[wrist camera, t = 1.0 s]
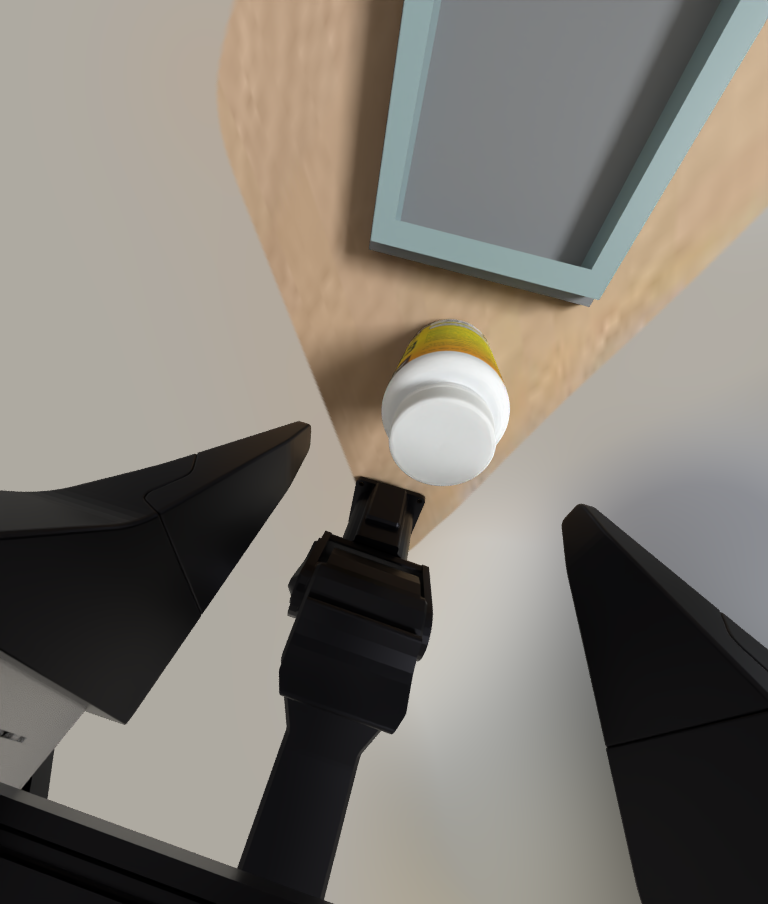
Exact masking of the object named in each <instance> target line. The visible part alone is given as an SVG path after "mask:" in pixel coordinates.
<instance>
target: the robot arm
mask: <svg viewBox="0 0 768 904" xmlns="http://www.w3.org/2000/svg"><path fill="white" fill-rule="evenodd" d="M310 439H311V426H310V425H309V424H307V423H304V422H300V421H298V422H294V423H291V424H288V425H285V426H281V427H278V428H275V429H272V430H269V431H266V432H262V433H259V434H256V435H253V436H250V437H247V438H243V439H240V440H237V441H234V442H231V443H228V444H225V445H221V446H218V447H215V448H212V449H209V450H205V451H202V452H199V453H198V454H193V455H190V456H187V457H183V458H180V459H176V460H174V461H170V462H167V463H163V464H160V465H156V466H152V467H148V468H145V469H141V470H137V471H133V472H129V473H125V474H121V475H117V476H113V477H109V478H105V479H101V480H97V481H93V482H89V483H85V484H81V485H77V486H73V487H69V488H64V489H57V490H51V491H40V492H15V491H0V904H333V903H330V902H327V901H324V897H325V893H326V889H327V885H328V881H329V877H330V873H331V869H332V865H333V861H334V857H335V853H336V850H337V846H338V841H339V837H340V834H341V830H342V826H343V822H344V818H345V814H346V810H347V806H348V802H349V798H350V794H351V790H352V786H353V782H354V778H355V774H356V770H357V766H358V763H359V759H360V756H361V754H362V752H363V751H364V750H365V749H366V748H367V746H368V745H369V744H370V743H371V742H372V740H373V739H374V738H375V737H376V736H377V735H378V734H379V733H380V731H384V732H386V733H389V734H393V733H394V732H395V731H396V729H397V728H398V726H399V724H400V723H401V721H402V720H403V718H404V716H405V714H406V711H407V705H408V699H409V693H410V688H411V682H412V677H413V672H414V668H415V664H416V661H419V660H420V659H421V658H422V657H423V655H424V653H425V651H426V648H427V645H428V642H429V637H430V633H431V627H432V618H433V608H432V596H431V585H430V574H429V567H427V566H425V565H418V564H415V563H413V562H410V561H407V556H408V550H409V543H410V536H411V534H412V531H413V529H414V527H415V524H416V522H417V520H418V517H419V515H420V513H421V510H422V508H423V506H424V503H425V497H424V496H423V495H421V494H418V493H415V492H411V491H408V490H405V489H401V488H398V487H395V486H391V485H388V484H384V483H381V482H378V481H374V480H371V479H368V478H364V477H359V478H358V479H357V482H356V486H355V491H354V496H353V501H352V506H351V511H350V516H349V523H348V525H347V528H346V530H345V533H344V535H343V538H342V537H339V536H336V535H333V534H332V533H331V532H328V531H325V533H324V534H323V536H322V538H319V539H318V541H314V543H313V545H312V547H311V549H310V551H309V553H308V555H307V557H306V559H305V560H304V562H303V563H302V564H301V566H300V567H299V568H298V570H297V571H296V573H295V574H294V575H293V577H292V578H291V580H290V582H289V584H288V588H289V591H290V593H291V598H290V606H289V610H288V616H290V617H293V618H296V619H295V622H294V624H293V627H292V630H291V632H290V635H289V637H288V640H287V643H286V646H285V648H284V651H283V654H282V657H281V666H280V669H279V693H280V695H282V696H284V701H285V713H286V724H287V728H286V731H285V735H284V737H283V740H282V743H281V746H280V749H279V751H278V754H277V757H276V760H275V763H274V766H273V768H272V771H271V774H270V777H269V780H268V783H267V785H266V788H265V791H264V794H263V797H262V800H261V802H260V805H259V809H258V811H257V814H256V817H255V819H254V822H253V825H252V828H251V831H250V834H249V836H248V839H247V842H246V845H245V848H244V851H243V853H242V856H241V859H240V862H239V865H238V868H234V867H231V866H229V865H226V864H223V863H220V862H218V861H215V860H212V859H209V858H206V857H204V856H201V855H198V854H196V853H193V852H190V851H187V850H185V849H182V848H179V847H176V846H174V845H171V844H168V843H166V842H163V841H160V840H157V839H154V838H152V837H149V836H146V835H144V834H141V833H138V832H135V831H133V830H130V829H127V828H124V827H122V826H119V825H116V824H114V823H111V822H108V821H105V820H103V819H100V818H97V817H94V816H92V815H89V814H86V813H83V812H81V811H78V810H75V809H72V808H70V807H67V806H64V805H62V804H58V803H56V802H53V801H51V800H48V799H47V797H48V791H49V783H50V776H51V769H52V761H53V755H54V748H55V747H56V746H57V744H58V743H59V742H60V741H61V739H62V738H63V737H64V736H65V734H66V733H67V732H68V731H69V730H70V728H71V727H72V726H73V725H74V723H75V722H76V721H77V720H78V719H79V717H80V716H81V715H82V714H83V712H84V711H86V712H89V713H92V714H95V715H98V716H100V717H104V718H106V719H109V720H112V721H115V722H118V723H121V724H124V725H125V724H126V723H127V722H128V721H129V720H130V718H131V717H132V716H133V714H134V713H135V712H136V710H137V708H138V707H139V706H140V704H141V703H142V701H143V700H144V698H145V697H146V695H147V694H148V693H149V691H150V690H151V688H152V687H153V685H154V684H155V682H156V681H157V680H158V678H159V676H160V675H161V674H162V672H163V671H164V669H165V668H166V666H167V665H168V663H169V662H170V661H171V659H172V658H173V656H174V655H175V653H176V652H177V650H178V649H179V648H180V646H181V644H182V643H183V642H184V640H185V639H186V637H187V636H188V634H189V633H190V632H191V630H192V628H193V627H194V626H195V624H196V623H197V621H198V620H199V618H200V617H201V614H203V612H204V611H205V609H206V608H207V606H208V605H209V603H210V602H211V601H212V599H213V598H214V596H215V595H216V593H217V592H218V590H219V589H220V587H221V586H222V585H223V583H224V582H225V580H226V579H227V577H228V576H229V574H230V573H231V572H232V570H233V569H234V567H235V566H236V564H237V563H238V561H239V560H240V558H241V557H242V556H243V554H244V553H245V551H246V550H247V548H248V547H249V545H250V544H251V542H252V541H253V539H254V538H255V537H256V535H257V534H258V532H259V531H260V529H261V528H262V526H263V525H264V523H265V522H266V521H267V519H268V517H269V516H270V515H271V513H272V512H273V510H274V509H275V508H276V506H277V505H278V503H279V502H280V500H281V499H282V497H283V496H284V494H285V493H286V492H287V490H288V488H289V487H290V485H291V483H292V481H293V479H294V478H295V476H296V474H297V472H298V470H299V468H300V466H301V464H302V462H303V460H304V458H305V457H306V455H307V453H308V451H309V448H310ZM361 482H363V483H361ZM418 499H420V500H418ZM562 535H563V544H564V553H565V561H566V569H567V575H568V580H569V584H570V589H571V593H572V598H573V602H574V607H575V611H576V616H577V620H578V624H579V629H580V633H581V638H582V642H583V647H584V651H585V656H586V660H587V664H588V669H589V674H590V678H591V683H592V687H593V691H594V696H595V701H596V705H597V710H598V714H599V719H600V723H601V728H602V732H603V736H604V741H605V745H606V747H607V748H606V751H607V756H608V760H609V765H610V769H611V774H612V778H613V783H614V787H615V792H616V796H617V801H618V805H619V809H620V814H621V819H622V823H623V828H624V832H625V837H626V841H627V846H628V850H629V855H630V859H631V863H632V868H633V873H634V877H635V882H636V886H637V890H638V893H639V896H640V900H641V903H642V904H768V649H767V648H765V647H764V646H763V645H762V644H760V643H759V642H758V641H757V640H755V639H754V638H753V637H752V636H751V635H749V634H748V633H746V632H745V631H744V630H743V629H741V627H739V626H738V625H737V624H736V623H735V622H733V621H732V620H731V619H730V618H728V617H727V616H726V615H725V614H723V613H721V612H720V611H719V609H717V608H716V607H715V606H714V605H713V604H711V603H710V602H709V601H708V600H706V599H705V598H704V597H703V596H701V595H700V594H699V593H698V592H697V591H696V590H694V589H693V588H692V587H691V586H689V585H688V584H687V583H686V582H685V581H683V580H682V579H681V578H680V577H678V576H677V575H676V574H675V573H674V572H672V571H671V570H670V569H669V568H668V567H666V566H665V565H664V564H663V563H661V562H660V561H659V560H658V559H657V558H655V557H654V556H653V555H652V554H651V553H649V552H648V551H647V550H646V549H644V548H643V547H642V546H641V545H640V544H638V543H637V542H636V541H635V540H633V539H632V538H631V537H630V536H629V535H627V534H626V533H625V532H624V531H622V530H621V529H620V528H619V527H618V526H616V525H615V524H614V523H613V522H612V521H610V520H609V519H608V518H607V517H605V516H604V515H603V514H602V513H600V512H599V511H598V510H597V509H596V508H594V507H592V506H588V505H585V504H578V505H577V506H576V507H575V508H574V509H573V510H572V511H571V512H570V513H569V514H568V515H567V516H566V517H565V519H564V520H563V522H562Z"/></svg>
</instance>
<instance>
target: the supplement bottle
mask: <svg viewBox="0 0 768 904" xmlns="http://www.w3.org/2000/svg"><path fill="white" fill-rule="evenodd" d="M509 414H510V403H509V398H508V393H507V390H506V387H505V384H504V382H503V379H502V377H501V374H500V372H499V369H498V367H497V364H496V362H495V359H494V357H493V354H492V352H491V349H490V346H489V344H488V342H487V340H486V338H485V337H484V335H483V334H482V333H481V332H480V331H479V330H478V329H477V328H476V327H474V326H473V325H471V324H469V323H467V322H464V321H461V320H455V319H446V320H440V321H437V322H434V323H431V324H429V325H427V326H426V327H424V328H423V329H421V330H420V331H419V332H418V333H417V334H416V335H415V336H414V338H413V339H412V340H411V342H410V343H409V345H408V347H407V349H406V351H405V353H404V355H403V357H402V359H401V361H400V363H399V365H398V367H397V369H396V371H395V373H394V374H393V376H392V378H391V380H390V382H389V384H388V386H387V389H386V391H385V394H384V397H383V401H382V421H383V425H384V428H385V431H386V433H387V436H388V437H389V448H390V452H391V455H392V457H393V459H394V461H395V463H396V464H397V465H398V467H399V468H400V469H401V470H402V471H403V472H404V473H405V474H407V475H408V476H410V477H411V478H413V479H415V480H417V481H419V482H422V483H425V484H429V485H435V486H451V485H457V484H461V483H464V482H466V481H469V480H471V479H473V478H474V477H476V476H477V475H479V474H480V473H481V472H482V471H483V470H484V469H485V468H486V467H487V466H488V464H489V463H490V461H491V460H492V457H493V455H494V452H495V448H496V444H497V443H498V442H499V441H500V439H501V438H502V436H503V434H504V432H505V430H506V427H507V424H508V421H509Z"/></svg>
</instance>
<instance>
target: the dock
mask: <svg viewBox="0 0 768 904" xmlns="http://www.w3.org/2000/svg"><path fill="white" fill-rule="evenodd" d="M767 18H768V0H404V2H403V10H402V17H401V24H400V31H399V38H398V45H397V52H396V59H395V67H394V74H393V81H392V88H391V95H390V102H389V109H388V116H387V124H386V131H385V138H384V145H383V152H382V159H381V166H380V173H379V181H378V188H377V195H376V202H375V209H374V216H373V223H372V231H371V238H370V245H369V249H370V250H374V251H377V252H381V253H385V254H389V255H393V256H396V257H400V258H404V259H408V260H412V261H416V262H419V263H423V264H427V265H431V266H435V267H438V268H442V269H446V270H450V271H454V272H458V273H461V274H465V275H469V276H473V277H477V278H481V279H484V280H488V281H492V282H496V283H500V284H503V285H507V286H511V287H515V288H519V289H523V290H526V291H530V292H534V293H538V294H542V295H546V296H549V297H553V298H557V299H561V300H565V301H568V302H572V303H576V304H580V305H584V306H588V307H590V305H591V303H592V302H593V300H594V299H597V300H599V299H600V297H601V296H602V294H603V292H604V291H605V289H606V287H607V286H608V284H609V282H610V281H611V279H612V277H613V276H614V274H615V272H616V271H617V269H618V267H619V266H620V264H621V262H622V261H623V259H624V257H625V256H626V254H627V252H628V251H629V249H630V247H631V246H632V244H633V242H634V241H635V239H636V237H637V236H638V234H639V232H640V231H641V229H642V227H643V226H644V224H645V222H646V221H647V219H648V217H649V216H650V214H651V212H652V211H653V209H654V207H655V206H656V204H657V202H658V201H659V199H660V197H661V195H662V194H663V192H664V190H665V189H666V187H667V185H668V184H669V182H670V180H671V179H672V177H673V175H674V174H675V172H676V170H677V169H678V167H679V165H680V164H681V162H682V160H683V159H684V157H685V155H686V154H687V152H688V150H689V149H690V147H691V145H692V144H693V142H694V140H695V139H696V137H697V135H698V134H699V132H700V130H701V129H702V127H703V125H704V124H705V122H706V120H707V119H708V117H709V115H710V114H711V112H712V110H713V109H714V107H715V105H716V104H717V102H718V100H719V99H720V97H721V95H722V94H723V92H724V90H725V89H726V87H727V85H728V84H729V82H730V80H731V79H732V77H733V75H734V74H735V72H736V70H737V69H738V67H739V65H740V64H741V62H742V60H743V59H744V57H745V55H746V54H747V52H748V50H749V49H750V47H751V45H752V43H753V42H754V40H755V38H756V37H757V35H758V33H759V32H760V30H761V28H762V27H763V25H764V23H765V22H766V20H767Z"/></svg>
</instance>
